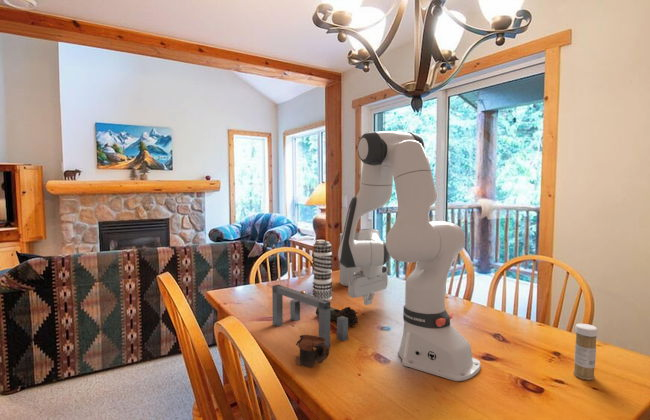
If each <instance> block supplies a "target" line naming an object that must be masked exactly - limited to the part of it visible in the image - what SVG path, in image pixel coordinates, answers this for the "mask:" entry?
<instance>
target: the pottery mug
mask: <svg viewBox="0 0 650 420" xmlns="http://www.w3.org/2000/svg"><path fill="white" fill-rule="evenodd" d="M299 337H300V338H299V340H298V341H296V343H295V345H296V346H297V347H298V348H299V355H296V356H295V365H297V366H303V367H308V368H315V365H316V362H317V364H322V363H323V362H324V361H325V360H327V358H328V357H329V354H330V347H328V346H327V345H326V344H325V339H324V338H322V337H319V335H314V334H310V335H309V334H301V335H299Z"/></svg>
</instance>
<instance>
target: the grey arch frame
mask: <svg viewBox="0 0 650 420" xmlns="http://www.w3.org/2000/svg"><path fill="white" fill-rule="evenodd" d="M271 288H272V290H271V291H272V293H271V294H272V295H271V296H272V297H271V299H272V326H273V327H281V326H283V325H284V324H283V323H284V322H283V321H284V319H283V318H284V317H283V315H284V314H283V305H284V304H283V296H284V297H287V298H290V299H291V300H294V299H295V300H298V301H300V303H304V304H306V305H309V306H312V307H315V308H316V309H317V308H319V316H318V336H319V337H322V338H324V339H325V344H326V345H327V346H328V347H329V348H330V347H331V319H330V307H331V301H330V300H327V301H326V300H323V299H320V298H317V297H314V296H313V295H311V294H308V293H307V292H306V291H305V290H301V291H298V290H297V289H294V288H293V289H292V288H289V287H288V286H287V287H286V286H284V285H280V284H275V285H272V287H271Z"/></svg>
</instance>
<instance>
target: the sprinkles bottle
mask: <svg viewBox="0 0 650 420" xmlns="http://www.w3.org/2000/svg"><path fill="white" fill-rule="evenodd" d="M597 337H598V328H597V326H594V325H592V324H588V323H576V324H575V345H574V359H573V360H574V369H573V370H574V371H573V375H574V376H575V377H577V378H578V379H581V380H584V379H586V380H585V381H593V380H595V370H596V369H595V368H596V356H597Z"/></svg>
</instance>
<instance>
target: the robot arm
mask: <svg viewBox="0 0 650 420" xmlns="http://www.w3.org/2000/svg"><path fill="white" fill-rule="evenodd" d="M357 154H358V158H359V159H360V161H361V162H362V163H363V165H362V170H361V176H360V178H361V179H360V188H359V191H358V193H357V194H356V196H354V197H352V198H351V200H350V202H349V206H348V210H347V214H346V217H345V218H346V219H345V222H344V227H343V231H342V233H343V236H342V240H341V243H340V242H339V247H338V250H337V260H338V262H339V264H340V263H341V264H342V265H343V266H344V267H346V268H353V267H357V273H353V274H352V275H351V277H350V280H349V286H347V295H348V296H349V297H350V298H352V299H357V298H361V297H362V299H363V304H364V305H365V306H368V305H372V304H373V299H374V297H375V293H377V292H379V291H383V290H386V289H387V287H388V278H389V277H388V276H389V275H388V271H389V267H388V266H386V265H385V264H386V263H387V262H388V261H389V259H390V257H391V258H392V260H394V261H396V262H401V263H403V262H404V263H416V266H415V268H414V269H413V271H412V272H411V273H410V274H409V275H408V277H407V278H406V280H405V293H404V297H405V299H404V300H405V301H404V305H403V313H402V315H403V316H402V318H403V323H404V324H403V333H402V338H401V342H400V344H399V345H400V346H399V348H398V352H397V353H398V355H399V357H400V358H401V360H402V361H401V362H402V365H403V366H404V367H409V368H412V369H415V370H418V371H421V372H425V373H428V374H431V375H435V376H438V377H439V378H440V377H441V378H444V379H448V380H450V381H454V382H460V381H461V382H463V381H467V380H469V379H471V378H473V377H475V376H476V375H477V374H478V373H480V370H481V368H482V366H481V361H480V360H479V359H476V358H475V357H473V352H472V347H471V344H470V342H469V341H468V340H467V339H466V338H465V337H464V336H463V335H462V334H461V333H460V332H459V331H458V330H457V329H456V328H455V327H454V326H453V325H452V323H451V319H453V318H454V313H451V314H449V313H448V312H447V309H446V308H445V307H446V292H447V291H446V289H447V281H448V277H449V273H450V271H451V268H452V265H453V263H454V261H455V259H457V256H458V255H459V253H461V252H462V250H463V249H464V247H465V244H466V235H465V233H464V231H463V229H462V227H460V226H459V225H458V224H456V223H454V222H450V221H445V220H438V221H437V220H436V221H429V212H430V208H431V206H433V205H434V204H435V202H436V201H437V191H436V186H435V182H434V181H435V180H434V177H433V173H432V169H431V165H430V162H429V158H428V156H427V153H426V151H425V143H424V140H423V138H422V136H421V135H419V134H418V133H414V132H411V131H409V132H404V131H403V132H402V131H394V130H385V131H368V132H365V133H363V134H362V135H361V137H360V138H359V140H358V143H357ZM393 181H394V182H393ZM393 185H394V187H395V193H396V199H397V215H396V218H395V222H394V223H393V225H392V226H391V228H390V229H389V230H388V232H387V234H386V237H385V241H383V240H381V237H380V231H379V230H378V229H376V228H363V229H360V230H359V231H358V233H359V236H358V240H354V237H355V233H357V232H356V231H357V227H358V223H359V220H360V219H361V217H363V216H365V215H366V214H369V213H371V212H373V211H376V210H379V209H381V208H382V207H384V206H385V205H386V204H388V202H390V200H391V198H392V193H393ZM389 256H390V257H389Z"/></svg>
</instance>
